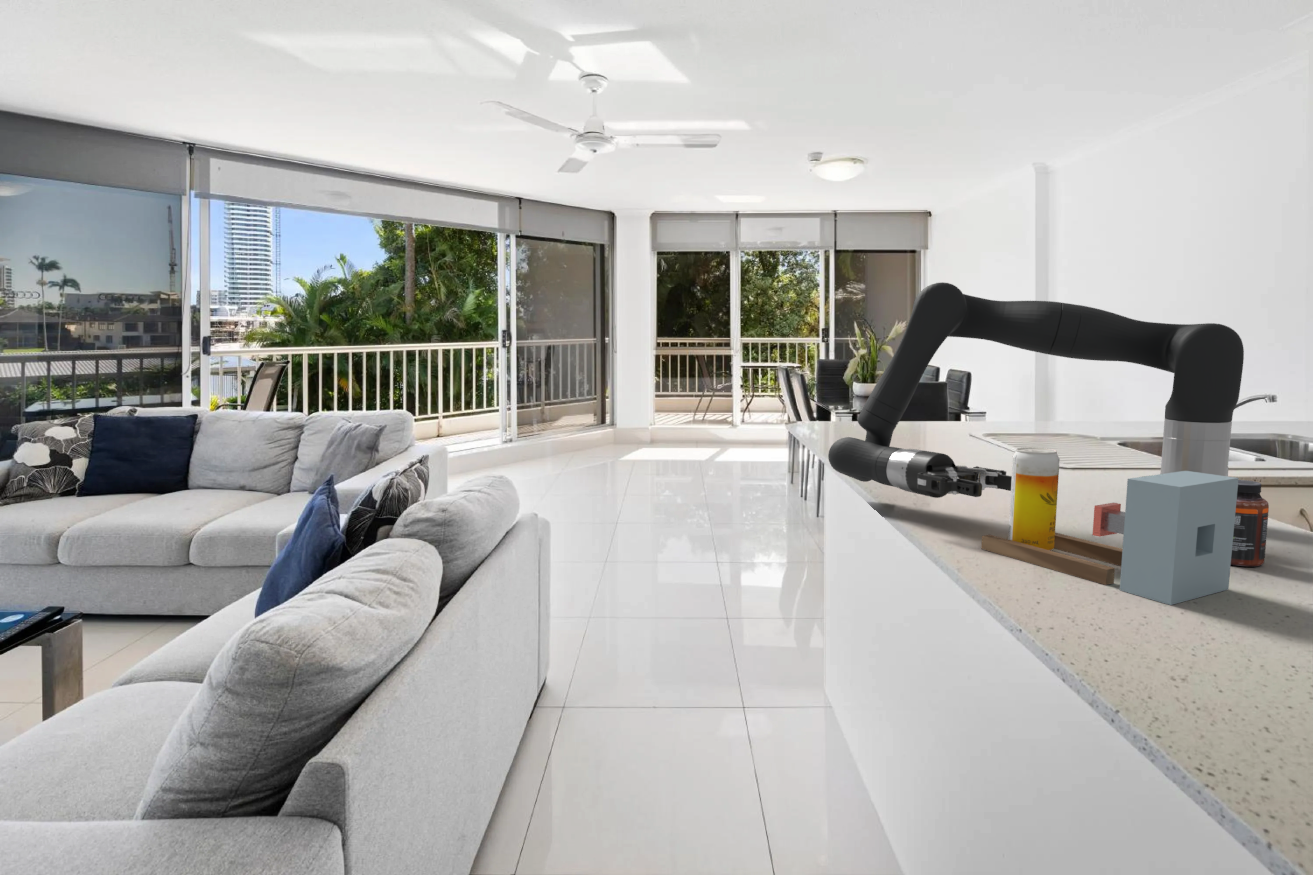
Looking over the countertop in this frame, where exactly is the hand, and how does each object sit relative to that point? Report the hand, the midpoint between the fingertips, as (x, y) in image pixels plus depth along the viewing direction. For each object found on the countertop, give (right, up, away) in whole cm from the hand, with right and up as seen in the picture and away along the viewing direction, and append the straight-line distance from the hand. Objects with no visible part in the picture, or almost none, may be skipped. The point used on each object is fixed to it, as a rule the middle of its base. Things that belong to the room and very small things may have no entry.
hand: (1000, 487), depth 115 cm
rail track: (+5, -10, -9) cm, 14 cm away
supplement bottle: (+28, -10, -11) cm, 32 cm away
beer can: (+3, -9, -4) cm, 10 cm away
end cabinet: (+11, -11, -22) cm, 27 cm away
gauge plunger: (+9, -6, -19) cm, 22 cm away
